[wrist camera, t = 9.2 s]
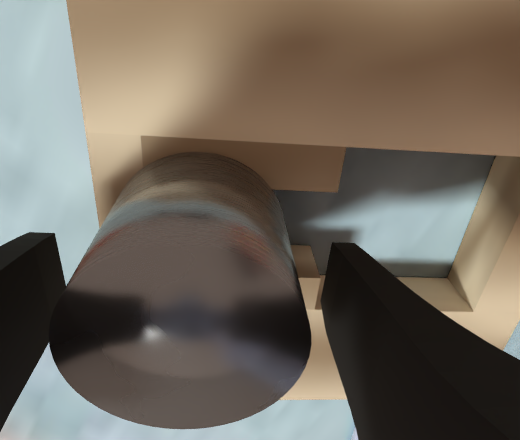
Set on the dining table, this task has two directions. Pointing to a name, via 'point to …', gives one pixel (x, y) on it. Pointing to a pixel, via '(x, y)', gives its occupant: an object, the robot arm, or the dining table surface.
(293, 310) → the keyhole peg
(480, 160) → the dining table surface
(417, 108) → the keyhole plate
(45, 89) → the dining table surface
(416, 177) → the dining table surface
